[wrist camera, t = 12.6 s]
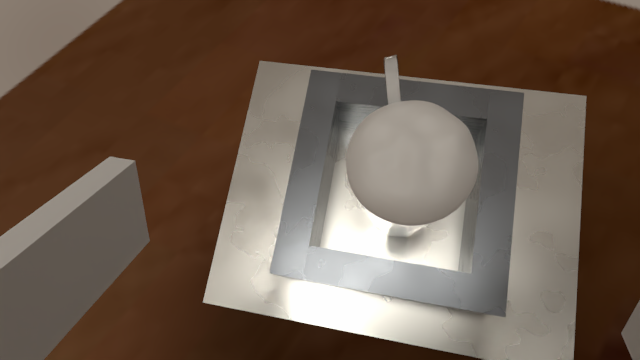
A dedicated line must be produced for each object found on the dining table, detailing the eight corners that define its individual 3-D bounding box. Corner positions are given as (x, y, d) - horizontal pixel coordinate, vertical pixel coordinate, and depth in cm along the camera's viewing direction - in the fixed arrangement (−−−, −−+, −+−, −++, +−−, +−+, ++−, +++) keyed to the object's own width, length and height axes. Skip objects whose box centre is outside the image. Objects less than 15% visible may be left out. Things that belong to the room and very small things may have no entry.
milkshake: (426, 142, 24) (459, 39, 15) (455, 240, 23) (511, 195, 13) (344, 161, 25) (323, 72, 15) (366, 259, 23) (359, 229, 14)
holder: (577, 105, 25) (620, 62, 21) (562, 373, 22) (610, 391, 17) (264, 70, 28) (243, 26, 24) (210, 302, 25) (173, 302, 20)
